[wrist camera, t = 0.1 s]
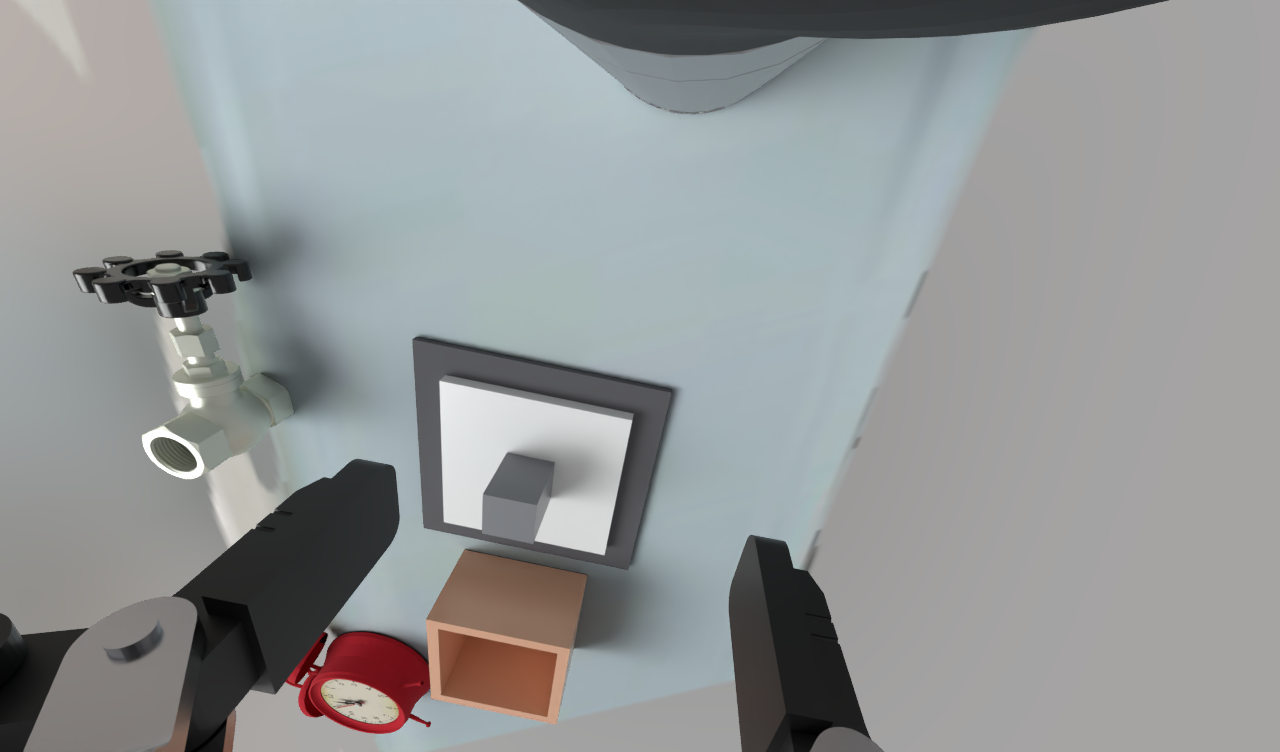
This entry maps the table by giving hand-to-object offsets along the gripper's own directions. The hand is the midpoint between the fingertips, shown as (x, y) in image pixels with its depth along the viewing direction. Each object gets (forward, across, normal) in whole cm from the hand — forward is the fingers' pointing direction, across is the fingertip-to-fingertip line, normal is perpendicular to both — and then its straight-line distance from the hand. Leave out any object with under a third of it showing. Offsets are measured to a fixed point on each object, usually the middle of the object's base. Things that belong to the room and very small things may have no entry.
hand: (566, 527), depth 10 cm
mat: (+18, +5, +13) cm, 22 cm away
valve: (+18, +24, +7) cm, 31 cm away
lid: (+17, +5, +13) cm, 22 cm away
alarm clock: (+19, +21, +41) cm, 50 cm away
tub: (+18, +6, +28) cm, 34 cm away
